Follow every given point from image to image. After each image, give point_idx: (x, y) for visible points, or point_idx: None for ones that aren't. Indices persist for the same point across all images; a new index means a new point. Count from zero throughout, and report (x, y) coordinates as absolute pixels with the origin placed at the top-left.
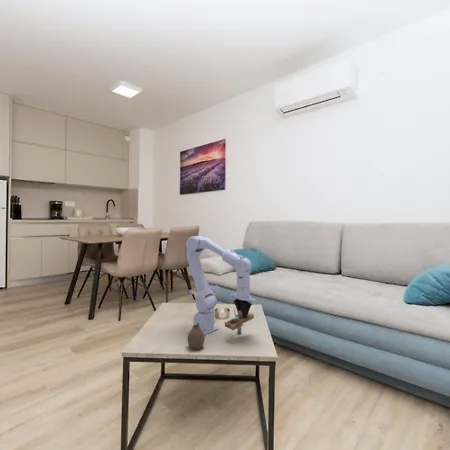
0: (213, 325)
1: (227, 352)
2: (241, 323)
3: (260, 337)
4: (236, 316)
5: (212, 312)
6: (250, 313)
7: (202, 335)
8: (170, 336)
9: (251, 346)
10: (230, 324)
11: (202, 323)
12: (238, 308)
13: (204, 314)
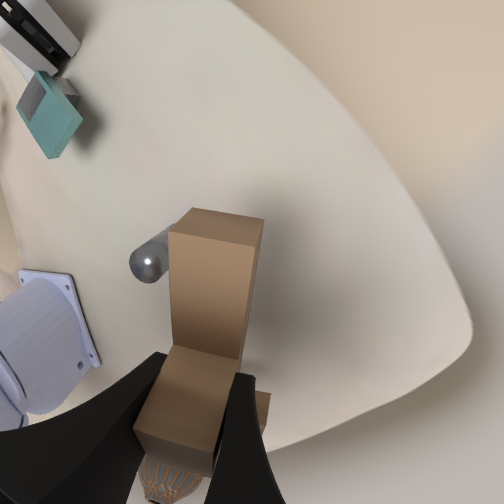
0: (60, 318)
1: (299, 429)
2: (265, 419)
3: (348, 196)
4: (31, 122)
5: (17, 374)
6: (186, 244)
7: (194, 484)
8: (72, 406)
9: (365, 343)
10: (218, 453)
11: (67, 395)
12: (134, 471)
13: (31, 402)
